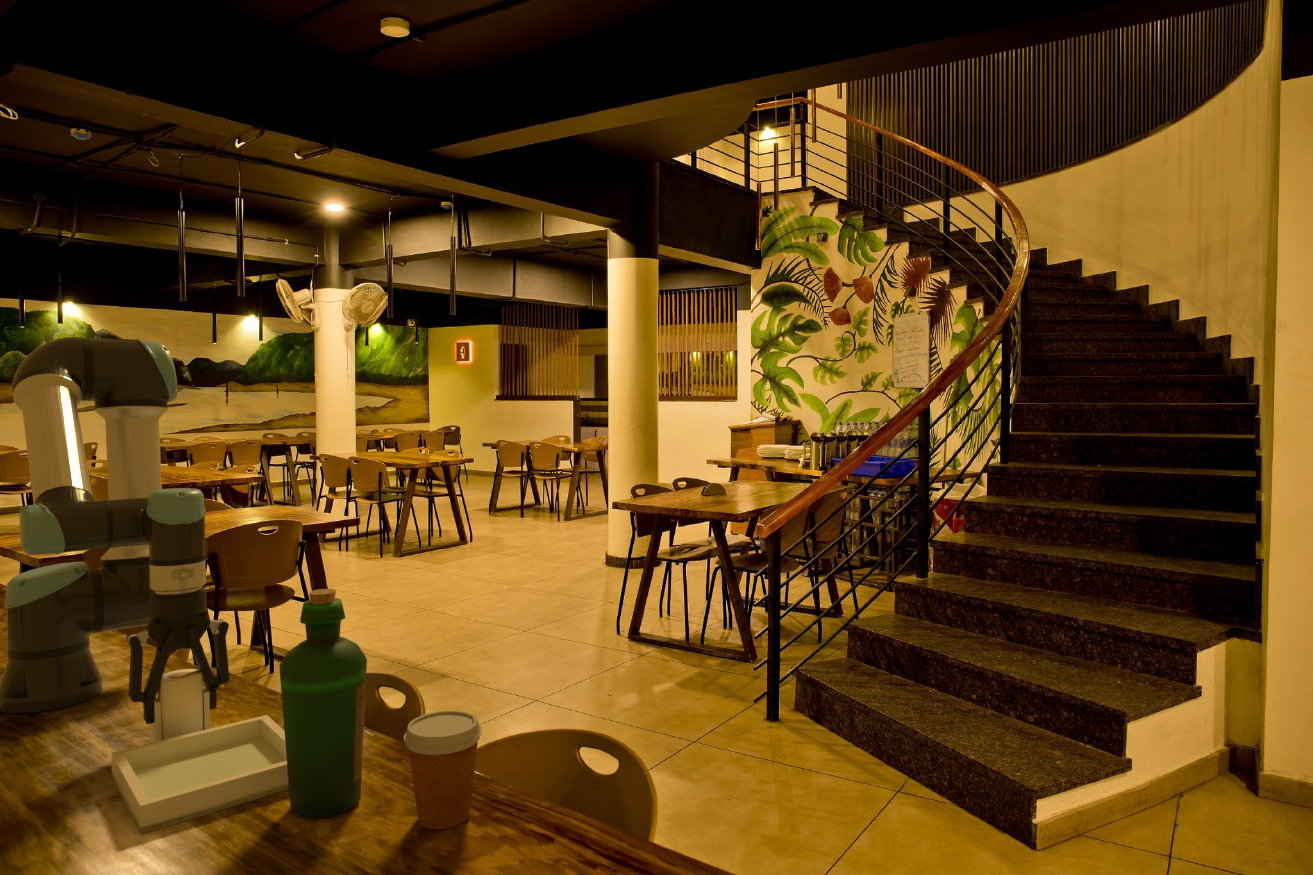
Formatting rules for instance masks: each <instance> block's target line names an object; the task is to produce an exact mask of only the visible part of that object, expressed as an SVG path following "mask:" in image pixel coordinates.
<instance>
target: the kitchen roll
mask: <svg viewBox="0 0 1313 875" xmlns="http://www.w3.org/2000/svg"><path fill="white" fill-rule="evenodd" d="M203 683H204V681H203V678H202V672H201V671H200V670H199V668H198V669H197V668H184V669H177V670H172V671H168V672H164V673H163V676H162V679H161V682H160V685H159V688H158V691H157V698H158V700H159V701H160V702H161V740H165V739H169V738H174V737H178V736H182V735H186V734H190V733H194V732H198V731H203V730H204V727H203V688H204V685H203Z"/></svg>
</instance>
